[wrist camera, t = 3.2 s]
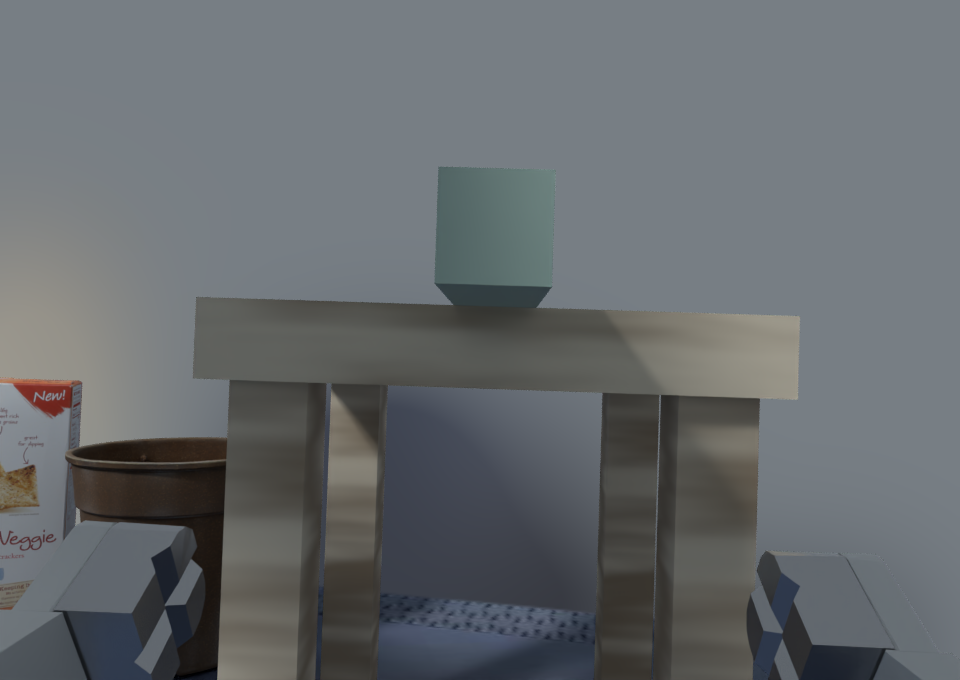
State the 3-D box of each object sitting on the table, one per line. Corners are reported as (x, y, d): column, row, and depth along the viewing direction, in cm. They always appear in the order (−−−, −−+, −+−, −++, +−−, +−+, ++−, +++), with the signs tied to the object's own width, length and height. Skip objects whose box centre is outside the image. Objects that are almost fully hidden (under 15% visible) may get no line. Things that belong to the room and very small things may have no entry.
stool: (782, 1053, 26) (799, 316, 26) (165, 1016, 26) (196, 297, 27) (651, 731, 48) (662, 334, 48) (317, 715, 48) (332, 324, 49)
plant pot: (2, 670, 53) (12, 450, 54) (165, 602, 69) (172, 431, 69) (181, 714, 48) (191, 468, 48) (315, 630, 63) (322, 443, 64)
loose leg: (551, 287, 19) (555, 169, 19) (434, 283, 19) (438, 166, 19) (523, 324, 41) (525, 271, 41) (469, 323, 41) (471, 269, 41)
